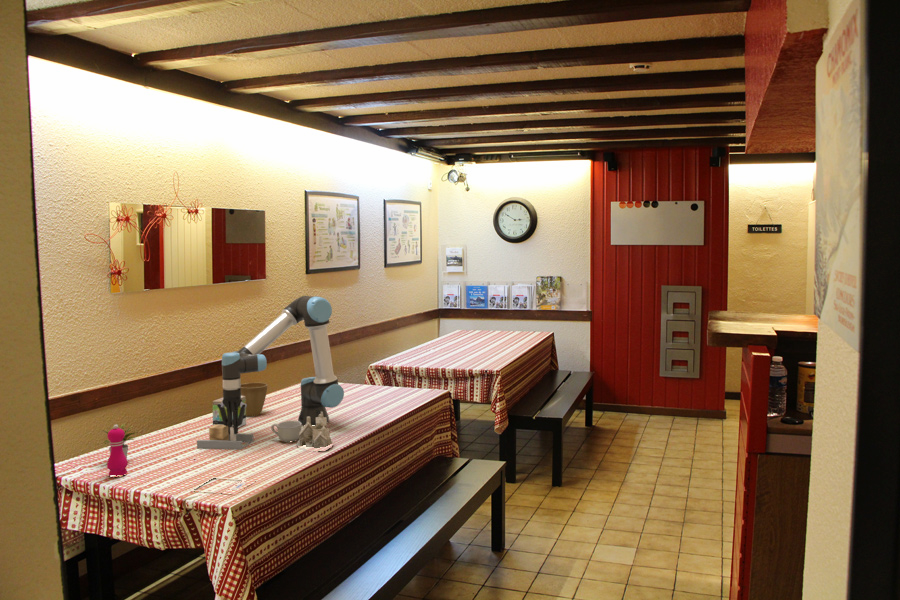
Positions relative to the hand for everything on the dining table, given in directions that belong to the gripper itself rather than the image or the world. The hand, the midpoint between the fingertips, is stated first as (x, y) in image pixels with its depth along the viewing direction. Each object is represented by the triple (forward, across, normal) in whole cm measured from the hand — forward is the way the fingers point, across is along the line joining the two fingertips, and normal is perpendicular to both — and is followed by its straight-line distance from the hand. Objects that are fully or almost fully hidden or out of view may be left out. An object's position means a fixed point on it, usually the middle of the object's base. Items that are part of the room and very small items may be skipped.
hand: (233, 441), depth 298 cm
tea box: (+3, +16, -32) cm, 36 cm away
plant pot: (+3, +15, -58) cm, 60 cm away
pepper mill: (+3, +29, +40) cm, 49 cm away
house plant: (+3, +39, +25) cm, 46 cm away
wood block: (+2, +7, 0) cm, 7 cm away
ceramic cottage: (+3, -35, -4) cm, 36 cm away
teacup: (+3, -20, -13) cm, 24 cm away
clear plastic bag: (+4, -18, +48) cm, 51 cm away
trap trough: (+3, +4, 0) cm, 5 cm away
